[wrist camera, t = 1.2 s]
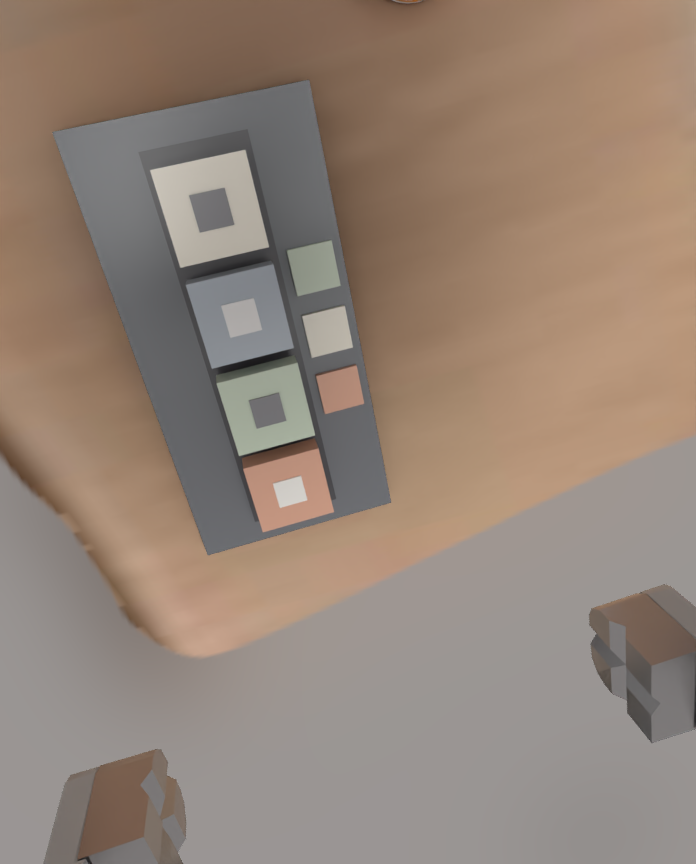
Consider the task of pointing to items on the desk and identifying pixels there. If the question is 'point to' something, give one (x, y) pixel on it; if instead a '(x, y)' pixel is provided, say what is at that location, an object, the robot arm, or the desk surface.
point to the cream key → (210, 208)
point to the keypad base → (166, 282)
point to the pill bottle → (407, 1)
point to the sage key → (265, 405)
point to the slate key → (240, 314)
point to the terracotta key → (288, 484)
